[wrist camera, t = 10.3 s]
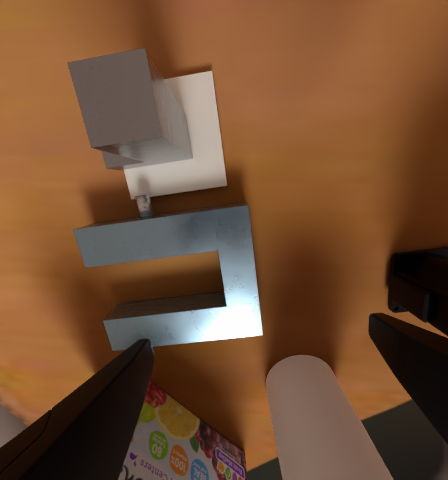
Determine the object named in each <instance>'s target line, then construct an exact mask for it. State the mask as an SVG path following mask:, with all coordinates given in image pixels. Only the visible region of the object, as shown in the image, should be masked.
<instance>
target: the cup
mask: <svg viewBox="0 0 448 480" xmlns="http://www.w3.org/2000/svg"><path fill="white" fill-rule="evenodd" d="M266 392H267V397H268V402H269V408H270V413H271V419H272V424H273V429H274V435H275V440H276V446H277V451H278V456H279V462H280V467H281V473H282V478H283V480H393V478H392V476H391V475H390V473H389V471H388V469H387V467H386V466H385V464H384V462H383V460H382V459H381V457H380V455H379V453H378V451H377V450H376V448H375V446H374V444H373V442H372V441H371V439H370V437H369V435H368V433H367V432H366V430H365V429H364V426H363V425H362V423H361V421H360V419H359V417H358V416H357V414H356V412H355V410H354V408H353V407H352V405H351V403H350V401H349V400H348V398H347V396H346V394H345V392H344V391H343V389H342V387H341V385H340V383H339V382H338V380H337V378H336V376H335V374H334V373H333V371H332V369H331V368H330V366H329V365H328V364H327V363H326V362H324V361H323V360H321V359H319V358H317V357H314V356H310V355H294V356H290V357H287V358H285V359H282V360H281V361H279V362H278V363H276V364H275V365H274V366H273V367H272V368H271V369H270V371H269V372H268V375H267V377H266Z"/></svg>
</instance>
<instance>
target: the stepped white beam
mask: <svg viewBox="0 0 448 480" xmlns="http://www.w3.org/2000/svg"><path fill="white" fill-rule="evenodd" d="M68 66H69V70H70V73H71V77H72V81H73V84H74V88H75V91H76V95H77V98H78V102H79V105H80V109H81V113H82V116H83V120H84V123H85V127H86V130H87V134H88V138H89V141H90V145H91V148H94V149H98V150H101V151H102V154H103V158H104V161H105V165H106V168H107V169H115V170H124V169H131V168H137V167H143V166H150V165H156V164H162V163H169V162H175V161H181V160H188V159H193V155H192V149H191V143H190V137H189V131H188V125H187V120H186V114H185V113H184V111H183V110H182V108H181V106H180V105H179V103H178V101H177V100H176V98H175V96H174V95H173V93H172V92H171V90H170V88H169V87H168V85H167V83H166V82H165V80H164V78H163V77H162V75H161V74H160V72H159V70H158V69H157V67H156V65H155V64H154V62H153V60H152V59H151V57H150V55H149V54H148V52H147V51H146V49H145V48H142V49H137V50H131V51H126V52H121V53H115V54H110V55H105V56H100V57H94V58H89V59H84V60H78V61H73V62H68Z"/></svg>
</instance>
